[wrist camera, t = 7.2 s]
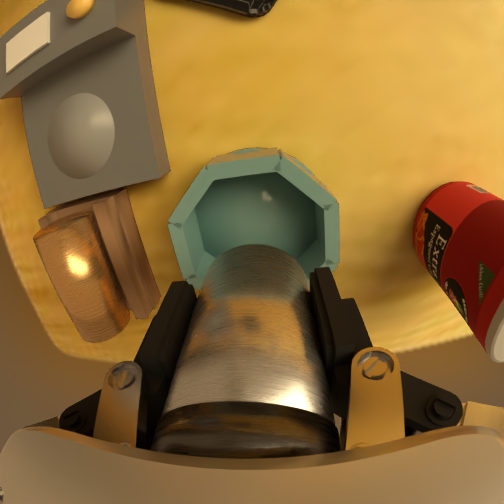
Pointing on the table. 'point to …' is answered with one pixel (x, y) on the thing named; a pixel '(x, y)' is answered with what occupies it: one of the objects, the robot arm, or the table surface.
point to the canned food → (467, 256)
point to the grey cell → (250, 366)
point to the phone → (241, 6)
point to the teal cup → (255, 212)
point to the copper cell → (83, 276)
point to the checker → (85, 96)
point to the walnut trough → (118, 246)
